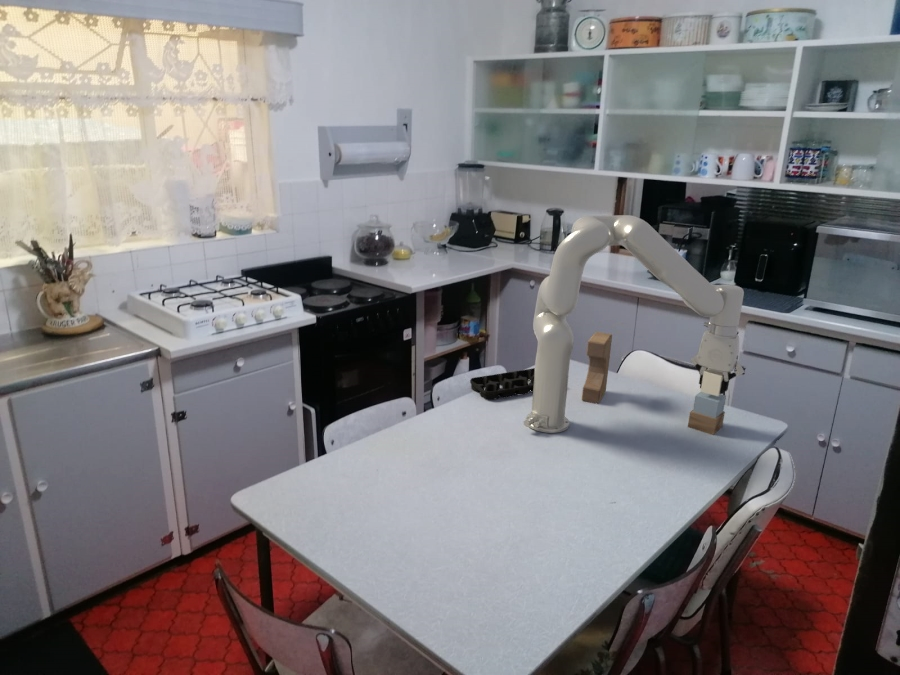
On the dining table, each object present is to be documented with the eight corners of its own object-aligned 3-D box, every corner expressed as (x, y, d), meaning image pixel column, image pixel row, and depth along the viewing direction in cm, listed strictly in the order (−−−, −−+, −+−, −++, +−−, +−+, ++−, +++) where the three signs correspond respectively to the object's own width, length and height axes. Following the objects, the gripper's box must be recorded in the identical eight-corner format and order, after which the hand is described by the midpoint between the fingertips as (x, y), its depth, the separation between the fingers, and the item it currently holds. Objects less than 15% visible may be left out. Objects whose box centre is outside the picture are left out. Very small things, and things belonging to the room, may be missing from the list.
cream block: (718, 396, 183) (721, 376, 181) (700, 391, 186) (703, 371, 184) (724, 391, 187) (727, 371, 185) (706, 386, 190) (709, 367, 188)
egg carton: (566, 388, 216) (567, 377, 215) (499, 409, 199) (499, 397, 197) (529, 372, 229) (529, 362, 228) (462, 390, 212) (463, 379, 210)
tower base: (713, 435, 185) (716, 419, 184) (687, 427, 190) (690, 412, 188) (722, 427, 191) (724, 411, 189) (696, 419, 195) (699, 404, 194)
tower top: (715, 418, 184) (718, 402, 183) (692, 411, 188) (695, 395, 187) (723, 411, 189) (726, 395, 188) (701, 405, 193) (703, 389, 192)
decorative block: (598, 404, 203) (605, 343, 197) (580, 400, 205) (586, 340, 199) (606, 392, 213) (613, 334, 207) (589, 389, 215) (595, 331, 209)
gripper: (687, 325, 183) (678, 385, 189) (750, 339, 173) (739, 402, 178) (697, 320, 189) (688, 378, 194) (759, 333, 178) (747, 394, 184)
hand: (712, 389), depth 186 cm, fingers closed on cream block, 5 cm apart
